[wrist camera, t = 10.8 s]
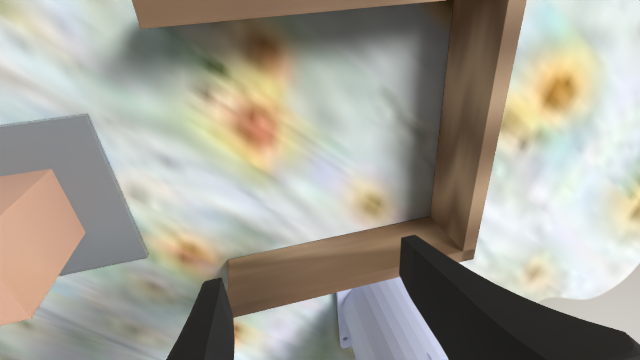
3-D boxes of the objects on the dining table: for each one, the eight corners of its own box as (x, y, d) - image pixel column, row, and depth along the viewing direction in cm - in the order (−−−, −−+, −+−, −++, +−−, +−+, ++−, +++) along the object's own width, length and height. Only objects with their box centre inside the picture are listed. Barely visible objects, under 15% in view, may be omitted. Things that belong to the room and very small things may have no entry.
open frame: (439, 223, 28) (473, 258, 24) (231, 269, 25) (231, 318, 21) (471, -25, 19) (533, -33, 15) (155, 0, 16) (131, -1, 12)
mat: (148, 253, 23) (147, 257, 22) (-17, 287, 21) (-21, 292, 21) (87, 113, 18) (84, 115, 17) (-135, 142, 16) (-143, 145, 16)
